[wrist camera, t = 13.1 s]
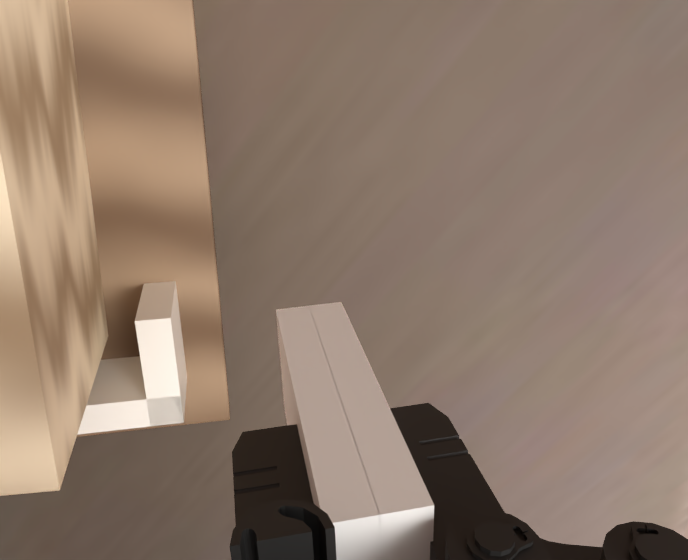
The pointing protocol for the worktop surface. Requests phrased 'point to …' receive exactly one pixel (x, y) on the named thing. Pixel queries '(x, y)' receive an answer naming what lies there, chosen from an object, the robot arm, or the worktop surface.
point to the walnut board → (151, 180)
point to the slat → (44, 250)
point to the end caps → (143, 371)
